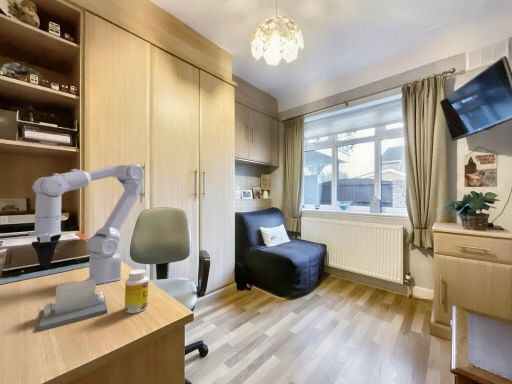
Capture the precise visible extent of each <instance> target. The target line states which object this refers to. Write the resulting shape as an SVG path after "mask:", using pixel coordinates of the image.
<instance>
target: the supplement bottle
mask: <svg viewBox="0 0 512 384" xmlns="http://www.w3.org/2000/svg"><path fill="white" fill-rule="evenodd" d="M124 288H125V290H124V291H125V293H124V294H125V295H124V310H125V312H126V313H127V314H136V313H140V312H142V311H144V310H145V309H147V308H148V303H149V301H148V300H149V277H148V276H146V270H145V269H142V268H138V269H134V270H130V271H129V274H128V278H127V279H126V281H125V287H124Z"/></svg>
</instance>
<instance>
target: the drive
mask: <svg viewBox="0 0 512 384" xmlns="http://www.w3.org/2000/svg"><path fill="white" fill-rule="evenodd" d="M95 295H96V285H95V279H92V280H81V281H76V282H70V283H65V284H59V285H56V289H55V302H54V303H55V315H59V314H63V313H67V312H72V311H76V310H80V309H84V308H88V307H92V306H95Z"/></svg>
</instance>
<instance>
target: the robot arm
mask: <svg viewBox="0 0 512 384" xmlns="http://www.w3.org/2000/svg"><path fill="white" fill-rule="evenodd" d="M110 177H112V178H116V179H117V180H118V182H119V183H120V184H121V186H122V187H123V189H124V191H123V192H122V194H121V195H120V197H119V199H118V201H117V203H116V204H115V206H114V208H113V210H112V211H111V212H110V215H109V216H108V218H107V220H106V222H105V223H104V225H103V226H102V227H101V228H99V229H98V230H96V232H95V233H94V234H93V235H92V236H91V237H90V238H89V239H88V240H87V242H86V245H85V246H86V250H87V251H88V252H89V264H88V265H89V267H88V268H89V269H88V271H89V272H88V277H87V278H86V279H87V280H92V279H95V286H96V285H100V284H106V283H111V282H116V281H120V280H121V276H122V275H121V273H122V257H121V253H116V252H117V251H118V249H119V242H120V240H121V235H120V234H121V233H120V230H122V227H123V225H124V224H125V222H126V220H127V218H128V216H129V214H130V212H131V211H132V209H133V207H134V205H135V204H136V202H137V200H138V199H139V196H140V194H141V193H142V188H143V187H142V186H143V180H144V178H145V177H146V174H145V173H144V169H143V168H142V166H141V165H139V164H138V163H137V164H136V163H134V164H133V163H132V164H121V165H110V166H105V167H103V168H98V169H94V170H90V171H85V170H83V169H77V168H73V169H70V171H68V172H64V173H58V172H57V173H53V174H52V175H51V176H44V177H43V176H42V177H39V178H38V179H37V180H35V181H34V182H33V185H32V186H31V188H32V191H33V192H34V193H35V195H36V196H35V208H34V210H35V212H34V231H30V232H28V236H35V237H36V241H32V242H31V246H32V248H33V249H34V251H35V252H36V256H37V260H38V264H39V266H40V267H46V266H51V264H52V260H53V258H54V256H55V252H56V248H57V245H58V244H59V242H60V239H61V237H62V235H61V234H62V229H61V226H62V195H63V194H64V193H68V192H70V191H73V190H78V189H81V188H85V187H88V186H89V184H90V183H91V182H92V181H98V180H101V179H102V180H103V179H106V178H110Z"/></svg>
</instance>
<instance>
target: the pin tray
mask: <svg viewBox="0 0 512 384" xmlns="http://www.w3.org/2000/svg"><path fill="white" fill-rule="evenodd" d="M105 314H108V306H107V302H106V298H105V293H104V291H98V293H97V294H96V293H95V306H92V307H88V308H84V309H80V310H76V311H72V312H67V313H63V314H59V315H55V302H54V303H53V302H47V303H46V304H45V305H44V309H43V311H42V315H41V318H40V322H39V324H38V332H42V331H45V330H49V329H52V328H55V327H60V326H64V325H68V324H72V323H76V322H78V321H82V320H86V319H90V318H94V317H98V316H102V315H105Z"/></svg>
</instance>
